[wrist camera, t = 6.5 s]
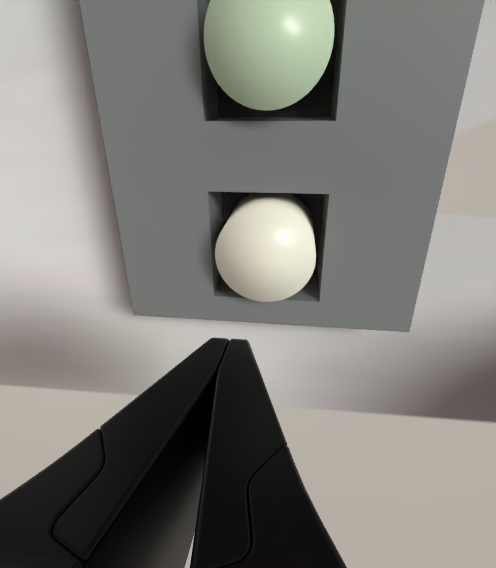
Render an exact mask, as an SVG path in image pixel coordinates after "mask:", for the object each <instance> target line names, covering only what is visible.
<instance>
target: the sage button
mask: <svg viewBox="0 0 496 568" xmlns="http://www.w3.org/2000/svg"><path fill="white" fill-rule="evenodd" d="M333 41H334V15H333V11H332V6H331V3H330V0H210V3H209V6H208V9H207V13H206V17H205V23H204V47H205V53H206V58H207V61H208V64H209V67H210V70H211V72H212V74H213V76H214V78H215V80H216V81H217V83H218V84H219V86H220V87H221V88H222V89H223V91H224V92H225V93H226V94H227V95H228V96H230V97H231V98H232V99H233V100H235V101H236V102H238V103H240V104H242V105H243V106H246V107H249V108H251V109H256V110H265V111H268V110H277V109H281V108H284V107H287V106H290V105H292V104H294V103H295V102H297V101H299V100H300V99H301V98H303V97H304V96H305V95H306V94H307V93H309V92H310V91H311V90H312V88H313V87H314V86H315V85H316V84H317V82H318V81H319V79H320V78H321V76H322V75H323V73H324V71H325V69H326V67H327V64H328V62H329V59H330V56H331V52H332V48H333Z"/></svg>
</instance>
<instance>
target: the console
mask: <svg viewBox="0 0 496 568" xmlns="http://www.w3.org/2000/svg"><path fill="white" fill-rule="evenodd" d="M79 3H80V9H81V15H82V21H83V26H84V32H85V38H86V44H87V49H88V55H89V61H90V67H91V72H92V78H93V84H94V90H95V95H96V101H97V107H98V113H99V118H100V124H101V130H102V136H103V141H104V147H105V153H106V159H107V164H108V170H109V176H110V182H111V187H112V193H113V199H114V205H115V210H116V216H117V222H118V228H119V233H120V239H121V245H122V251H123V256H124V262H125V268H126V274H127V279H128V285H129V291H130V297H131V302H132V308H133V314H134V315H141V316H157V317H174V318H190V319H206V320H222V321H238V322H254V323H270V324H287V325H303V326H319V327H335V328H351V329H367V330H383V331H400V332H409V330H410V326H411V321H412V317H413V313H414V308H415V304H416V299H417V295H418V291H419V286H420V282H421V277H422V273H423V269H424V264H425V260H426V255H427V251H428V247H429V242H430V238H431V233H432V229H433V225H434V220H435V216H436V211H437V207H438V202H439V198H440V194H441V189H442V185H443V181H444V176H445V172H446V167H447V163H448V158H449V154H450V150H451V145H452V140H453V137H454V132H455V128H456V123H457V119H458V115H459V110H460V106H461V101H462V97H463V93H464V88H465V84H466V79H467V75H468V71H469V66H470V62H471V57H472V53H473V49H474V44H475V40H476V36H477V31H478V27H479V22H480V18H481V14H482V9H483V5H484V0H340V10H339V22H338V33H337V45H336V57H335V69H334V81H333V92H332V104H331V116H330V117H263V118H219V117H218V93H217V81H216V80H215V78H214V76H213V74H212V72H211V70H210V67H209V64H208V61H207V58H206V53H205V47H204V23H205V17H206V13H207V9H208V6H209V3H210V0H79ZM222 192H257V193H306V194H324V199H323V210H322V222H321V234H320V246H319V258H318V269H317V275H312V276H311V278H310V279H309V281H308V282H307V284H306V285H305V286H304V287H303V288H302V289H301V290H300V291H299V292H297V293H296V294H294V295H292V296H290V297H288V298H286V299H283V300H279V301H274V302H261V301H255V300H251V299H248V298H246V297H243V296H241V295H240V294H238V293H237V292H235V291H234V290H233V289H231V288H230V287H229V286H228V285H227V284H226V282H225V281H224V280H223V278H222V277H221V275H220V273H219V270H218V268H217V264H216V259H215V248H216V243H217V239H218V237H219V235H220V233H221V231H222V229H223V216H222Z"/></svg>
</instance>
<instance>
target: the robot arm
mask: <svg viewBox="0 0 496 568" xmlns="http://www.w3.org/2000/svg"><path fill="white" fill-rule="evenodd" d="M100 430H101V431H100ZM194 532H195V535H194ZM193 536H194V542H193V550H192V556H191V564H190V568H347V567H346V565H345V563H344V562H343V560H342V558H341V556H340V554H339V552H338V551H337V549H336V547H335V545H334V543H333V541H332V540H331V538H330V536H329V534H328V532H327V530H326V528H325V527H324V525H323V523H322V521H321V519H320V517H319V515H318V513H317V512H316V509H315V507H314V505H313V504H312V501H311V499H310V497H309V495H308V493H307V491H306V490H305V487H304V485H303V482H302V480H301V478H300V475H299V473H298V470H297V468H296V466H295V463H294V461H293V458H292V455H291V453H290V450H289V448H288V447H287V443H286V440H285V437H284V435H283V432H282V429H281V427H280V424H279V422H278V419H277V416H276V413H275V411H274V408H273V405H272V403H271V400H270V397H269V395H268V392H267V389H266V387H265V384H264V381H263V379H262V376H261V373H260V371H259V368H258V365H257V363H256V360H255V357H254V355H253V352H252V349H251V347H250V344H249V342H248V340H243V339H231V340H230V341H229V340H228V339H226V338H211V339H209V340H208V341H207V342H206V343H204V344H203V345H202V346H201V347H199V348H198V349H197V350H196V351H194V352H193V353H192V354H191V355H189V356H188V357H187V358H186V359H184V360H183V361H182V362H181V363H179V364H178V365H177V366H176V367H174V368H173V369H172V370H171V371H169V372H168V373H167V374H166V375H164V376H163V377H162V378H161V379H159V380H158V381H157V382H156V383H154V384H153V385H152V386H151V387H149V388H148V389H147V390H146V391H144V392H143V393H142V394H140V395H139V396H138V397H137V398H135V399H134V400H133V401H132V402H130V403H129V404H128V405H127V406H126V407H124V408H123V409H122V410H120V411H119V412H118V413H117V414H115V416H113V417H112V418H110V419H109V420H108V421H107V422H106V423H104V424H103V425H102V426H101V427H100V429H96V430H95V431H94V432H93V433H91V434H90V435H89V436H88V437H86V438H85V439H84V440H83V441H81V442H80V443H79V444H77V445H76V446H75V447H74V448H72V449H71V450H70V451H68V452H67V453H66V454H64V455H63V456H62V457H60V458H59V459H58V460H56V461H55V462H54V463H52V464H51V465H50V466H48V467H47V468H45V469H44V470H42V471H41V472H39V473H38V474H37V475H35V476H34V477H32V478H31V479H30V480H28V481H27V482H25V483H24V484H22V485H21V486H19V487H18V488H17V489H15V490H14V491H12V492H11V493H9V494H8V495H6V496H5V497H3V498H2V499H0V568H184V567H185V564H186V560H187V557H188V553H189V550H190V546H191V543H192V539H193Z"/></svg>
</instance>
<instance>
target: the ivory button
mask: <svg viewBox="0 0 496 568" xmlns="http://www.w3.org/2000/svg"><path fill="white" fill-rule="evenodd" d="M215 259H216V264H217V268H218V270H219V273H220V275H221V277H222V278H223V280H224V281H225V282H226V284H227V285H228V286H229V287H230V288H231V289H233V290H234V291H235V292H237V293H238V294H240V295H241V296H243V297H246V298H248V299H251V300H255V301H261V302H274V301H279V300H283V299H286V298H288V297H290V296H292V295H294V294H296V293H297V292H299V291H300V290H301V289H302V288H303V287H304V286H305V285H306V284H307V282H308V281H309V279H310V278H311V276H312V273H313V271H314V268H315V263H316V249H315V239H314V229H313V222H312V218H311V215H310V213H309V211H308V209H307V208H306V206H305V205H304V204H303V203H302V202H301V201H300V200H299V199H298V198H297V197H295V196H294V195H292V194H290V193H257V192H253V193H251V194H249V195H248V196H246V197H245V198H243V199H242V200H241V201H240V202H239V203H238V205H237V206H236V207H235V209H234V210H233V212H232V214H231V216H230V217H229V219H228V221H227V222H226V224H225V226H224V227H223V229H222V231H221V233H220V235H219V237H218V239H217V243H216V248H215Z"/></svg>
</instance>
